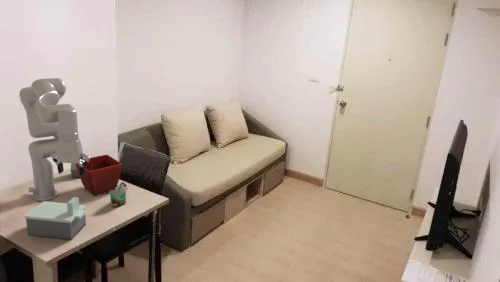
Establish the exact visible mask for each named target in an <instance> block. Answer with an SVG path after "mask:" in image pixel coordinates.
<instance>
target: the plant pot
mask: <svg viewBox="0 0 500 282" xmlns="http://www.w3.org/2000/svg"><path fill="white" fill-rule="evenodd" d="M85 160H86V159H83V161H84V162H85ZM122 166H123V163H122V162H120V161H119V160H117V159H116V158H113V157H112V156H110V155H109V154H103V155H98V156H93V157H90V160H89V162H88V163H87V164H86V165H85V173H84V174H83V175H82V176H80V170H79V167H80V165H79V164H78V163H76V167H77V170H78V173H79V176H80V177H79V178H80V181H81V183H82V186H83V188H84V189H85V190H86V191H87V192H88V193H89V194H91V195H92V196H94V197H95V196H99V195H102V194H107V193H110V190H113V189H114V188H115V187H116V186H118V185H119V181H120V177H121V174H122Z"/></svg>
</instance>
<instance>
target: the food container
mask: <svg viewBox="0 0 500 282" xmlns="http://www.w3.org/2000/svg"><path fill="white" fill-rule="evenodd" d="M128 188H129V187H128V185H127V183H125V182H123V181H120V183H119V184H117V186H116V187H115V188H114V189H113V190H110V192H108V193H109V194H108V195H109V196H110V205H111V206H110V207H112V208H118V207H122V205H123V206H124V205H126V203H127V191H128V190H129V189H128Z"/></svg>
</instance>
